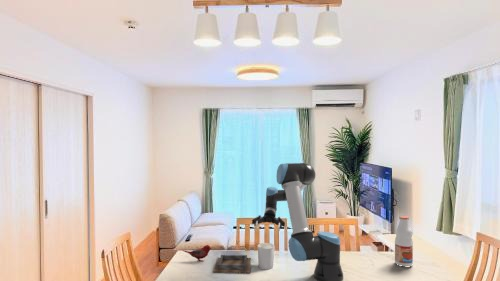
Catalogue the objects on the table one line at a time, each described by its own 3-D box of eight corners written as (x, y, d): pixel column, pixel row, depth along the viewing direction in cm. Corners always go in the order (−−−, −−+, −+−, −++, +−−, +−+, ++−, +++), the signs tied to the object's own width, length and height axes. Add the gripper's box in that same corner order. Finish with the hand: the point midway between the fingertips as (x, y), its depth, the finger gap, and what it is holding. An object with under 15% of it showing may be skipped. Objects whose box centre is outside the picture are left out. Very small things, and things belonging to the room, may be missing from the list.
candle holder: (254, 267, 188) (254, 246, 187) (261, 262, 196) (262, 241, 196) (270, 271, 183) (270, 249, 183) (277, 265, 192) (277, 244, 191)
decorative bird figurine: (211, 262, 195) (211, 246, 195) (181, 261, 197) (181, 244, 197) (212, 261, 198) (212, 244, 198) (183, 259, 200) (183, 243, 200)
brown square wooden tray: (250, 259, 200) (250, 253, 200) (249, 273, 180) (249, 267, 180) (218, 259, 201) (218, 253, 201) (213, 272, 181) (213, 266, 181)
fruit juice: (401, 260, 199) (401, 213, 198) (416, 265, 191) (416, 217, 190) (391, 263, 194) (391, 215, 193) (406, 269, 186) (406, 219, 185)
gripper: (288, 222, 216) (288, 235, 195) (250, 219, 219) (246, 232, 198) (289, 211, 215) (288, 223, 194) (251, 208, 218) (246, 220, 197)
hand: (267, 228), depth 196 cm, fingers open, 13 cm apart
